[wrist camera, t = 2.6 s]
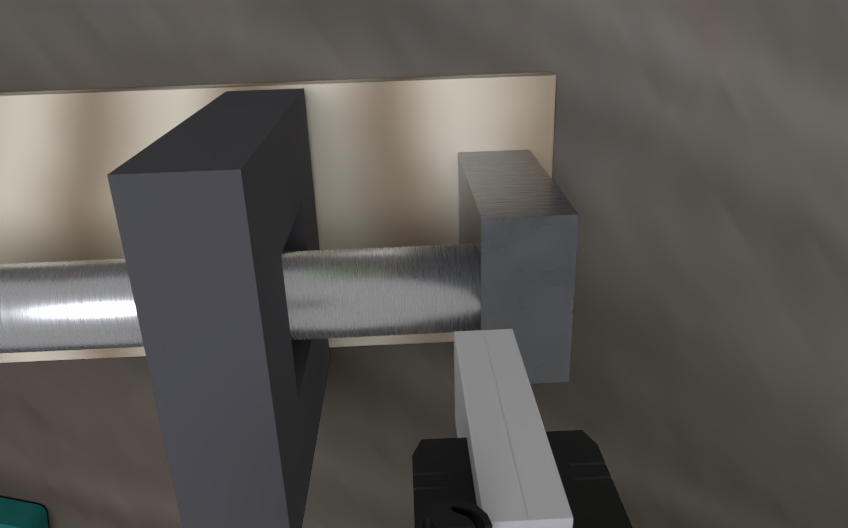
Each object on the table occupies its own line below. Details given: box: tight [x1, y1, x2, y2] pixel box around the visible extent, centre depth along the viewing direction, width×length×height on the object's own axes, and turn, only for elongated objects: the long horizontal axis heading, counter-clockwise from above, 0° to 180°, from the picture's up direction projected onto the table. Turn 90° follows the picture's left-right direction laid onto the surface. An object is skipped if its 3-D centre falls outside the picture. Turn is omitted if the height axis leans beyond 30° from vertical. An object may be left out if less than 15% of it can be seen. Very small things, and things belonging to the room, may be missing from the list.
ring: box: [107, 88, 330, 528], centre depth 24 cm, size 3×12×12 cm, turn 2°
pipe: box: [0, 150, 579, 384], centre depth 26 cm, size 37×6×9 cm, turn 92°
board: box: [0, 72, 556, 363], centre depth 30 cm, size 39×12×1 cm, turn 92°
